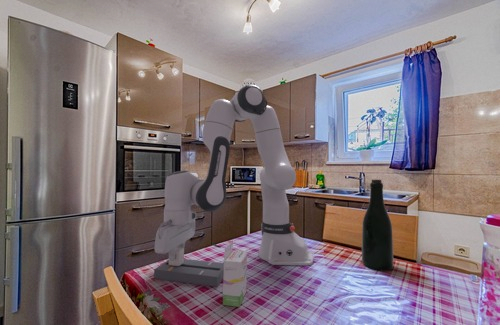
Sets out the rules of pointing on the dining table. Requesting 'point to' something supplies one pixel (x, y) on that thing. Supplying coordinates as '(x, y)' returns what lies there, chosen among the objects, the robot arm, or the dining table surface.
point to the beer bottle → (377, 231)
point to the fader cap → (178, 257)
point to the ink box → (234, 276)
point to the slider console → (192, 272)
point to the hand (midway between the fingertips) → (176, 257)
